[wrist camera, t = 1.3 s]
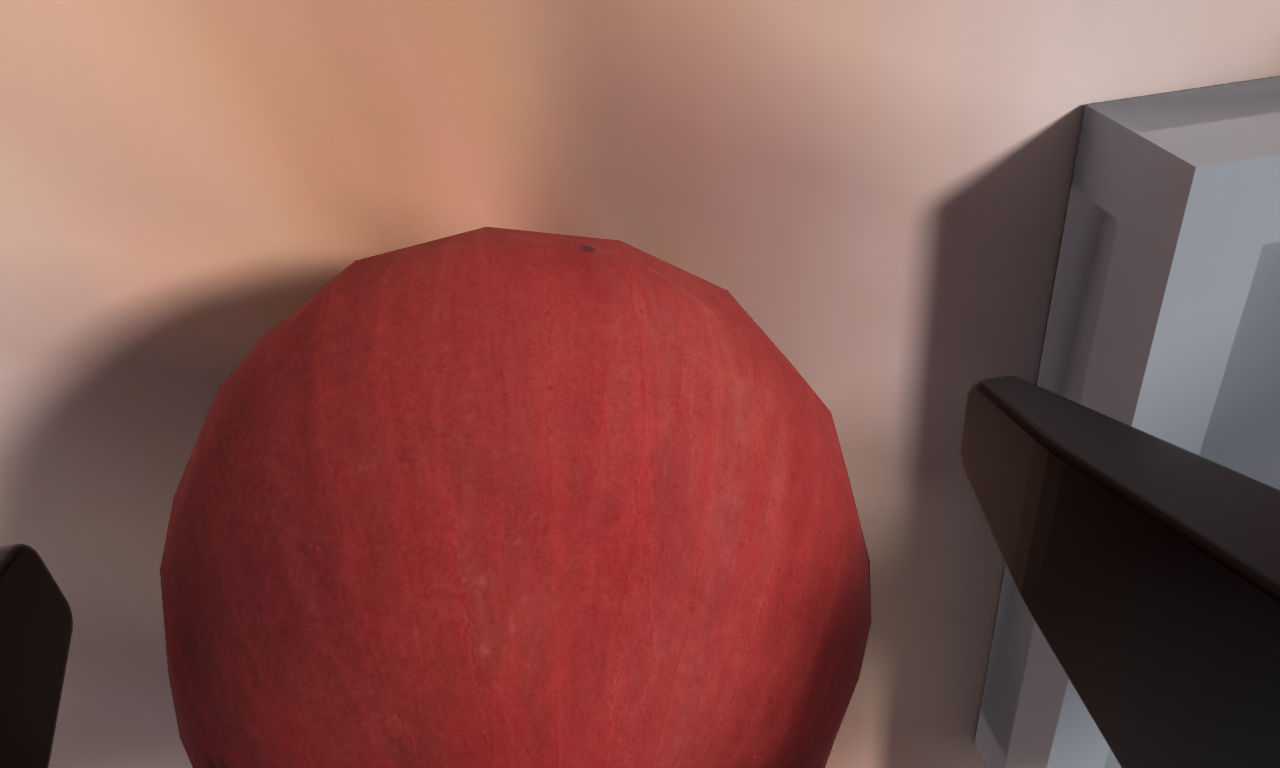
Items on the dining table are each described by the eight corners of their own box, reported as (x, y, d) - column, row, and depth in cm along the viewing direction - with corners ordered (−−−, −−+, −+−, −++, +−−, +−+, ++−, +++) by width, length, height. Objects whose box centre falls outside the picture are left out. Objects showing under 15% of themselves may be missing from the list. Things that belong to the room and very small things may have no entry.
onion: (601, 575, 14) (731, 1319, 7) (187, 451, 12) (-160, 1363, 5) (831, 242, 12) (1334, 906, 5) (365, 6, 9) (136, 646, 3)
